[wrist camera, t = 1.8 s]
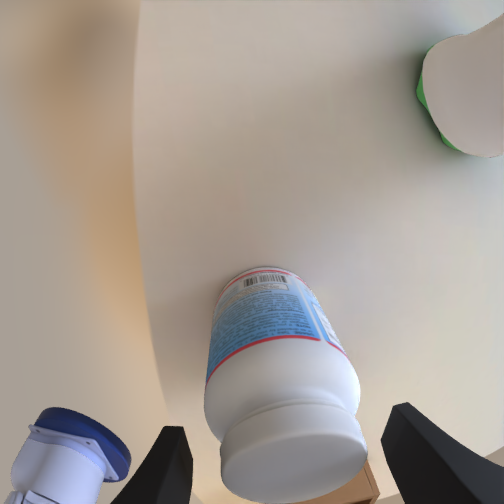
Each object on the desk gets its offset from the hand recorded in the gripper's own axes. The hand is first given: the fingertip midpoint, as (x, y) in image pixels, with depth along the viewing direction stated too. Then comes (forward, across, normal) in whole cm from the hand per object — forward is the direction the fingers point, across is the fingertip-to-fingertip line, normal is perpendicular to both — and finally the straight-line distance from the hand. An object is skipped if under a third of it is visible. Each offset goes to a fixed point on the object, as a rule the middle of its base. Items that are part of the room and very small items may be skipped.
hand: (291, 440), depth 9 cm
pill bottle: (+10, 0, 0) cm, 10 cm away
